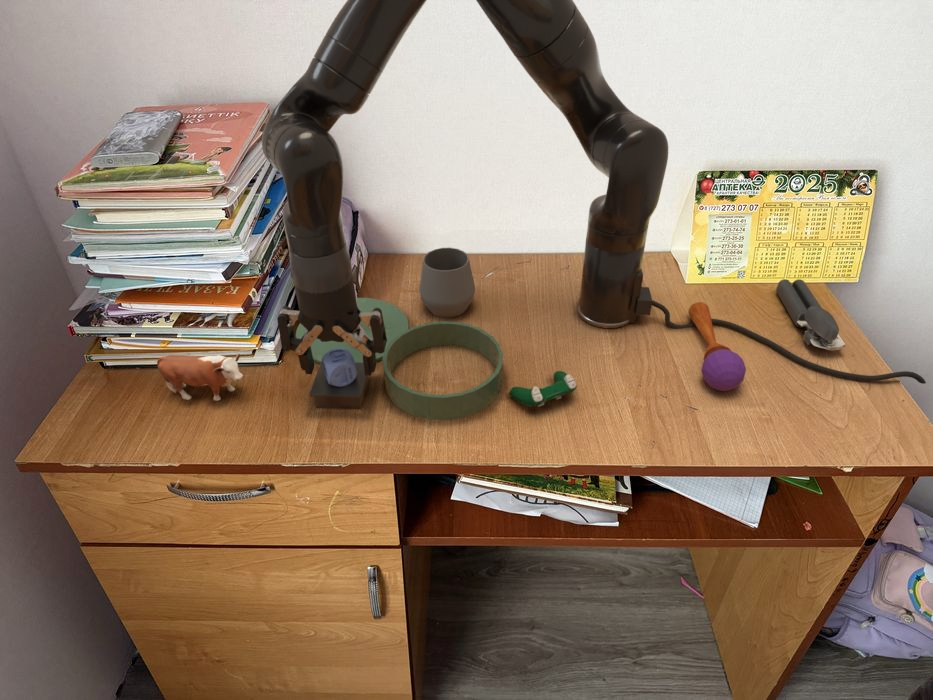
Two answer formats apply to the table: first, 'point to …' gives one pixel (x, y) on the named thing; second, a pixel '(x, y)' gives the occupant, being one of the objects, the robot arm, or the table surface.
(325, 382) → the stand
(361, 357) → the tin lid
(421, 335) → the tin
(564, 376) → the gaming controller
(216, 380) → the bull figurine
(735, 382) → the purple maraca
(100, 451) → the table surface
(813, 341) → the can opener
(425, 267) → the cup
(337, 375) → the decorative dice
